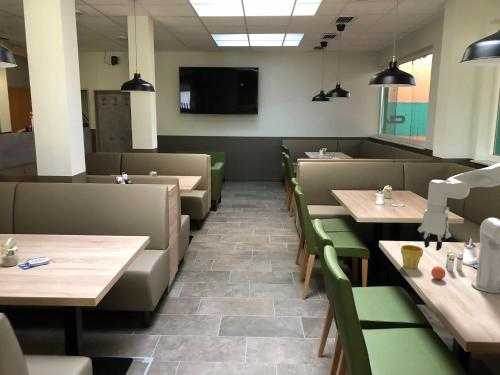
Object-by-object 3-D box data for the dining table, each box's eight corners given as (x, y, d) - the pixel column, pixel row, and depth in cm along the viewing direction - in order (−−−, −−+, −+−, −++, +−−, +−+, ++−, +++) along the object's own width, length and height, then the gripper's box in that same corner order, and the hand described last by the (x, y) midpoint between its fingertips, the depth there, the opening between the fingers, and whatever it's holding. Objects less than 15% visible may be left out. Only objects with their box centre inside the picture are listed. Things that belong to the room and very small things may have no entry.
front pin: (453, 270, 200) (455, 254, 198) (451, 272, 198) (453, 255, 197) (448, 269, 202) (450, 253, 200) (446, 270, 200) (448, 254, 198)
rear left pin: (452, 267, 205) (453, 251, 203) (450, 268, 203) (451, 252, 201) (446, 266, 206) (448, 250, 205) (444, 267, 205) (446, 251, 203)
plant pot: (423, 271, 199) (425, 252, 198) (401, 269, 201) (402, 250, 200) (419, 263, 209) (420, 245, 208) (398, 262, 211) (399, 244, 210)
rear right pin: (462, 270, 201) (464, 253, 200) (460, 271, 199) (462, 254, 198) (457, 268, 203) (458, 252, 201) (455, 270, 201) (457, 253, 200)
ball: (446, 279, 190) (448, 267, 189) (441, 282, 186) (442, 270, 185) (433, 275, 194) (435, 263, 193) (428, 278, 190) (429, 266, 189)
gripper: (459, 210, 174) (455, 251, 177) (421, 203, 186) (417, 242, 189) (453, 213, 168) (448, 255, 172) (413, 206, 181) (410, 245, 184)
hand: (432, 247), depth 180 cm, fingers open, 4 cm apart
